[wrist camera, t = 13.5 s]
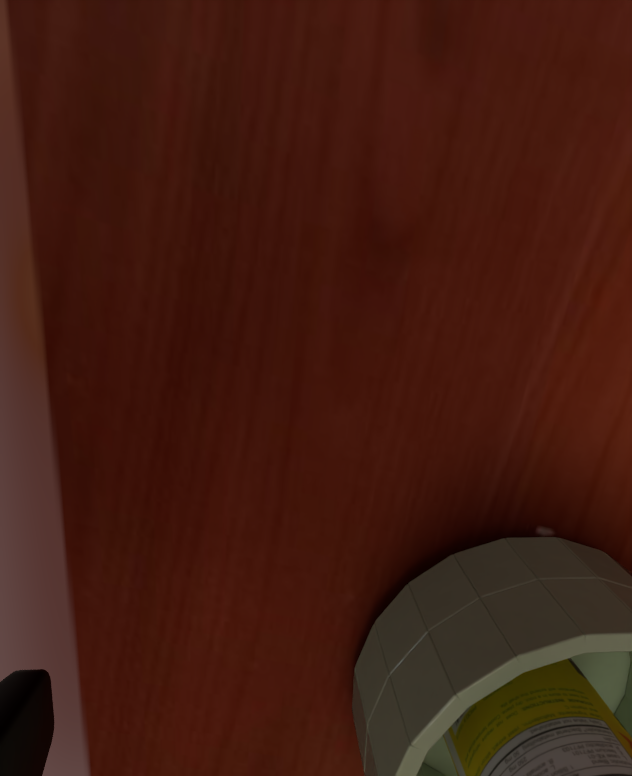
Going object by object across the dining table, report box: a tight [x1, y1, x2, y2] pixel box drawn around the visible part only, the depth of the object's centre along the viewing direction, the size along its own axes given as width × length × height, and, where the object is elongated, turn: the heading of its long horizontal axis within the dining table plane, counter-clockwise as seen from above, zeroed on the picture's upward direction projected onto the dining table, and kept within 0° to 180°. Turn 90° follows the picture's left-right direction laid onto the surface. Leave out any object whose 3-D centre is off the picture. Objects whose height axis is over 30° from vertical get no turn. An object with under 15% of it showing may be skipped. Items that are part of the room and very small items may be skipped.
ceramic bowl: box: [352, 537, 632, 776], centre depth 20 cm, size 12×12×6 cm
